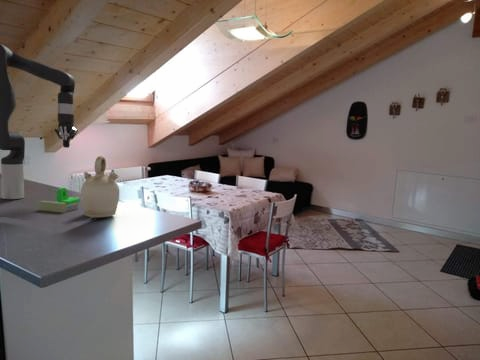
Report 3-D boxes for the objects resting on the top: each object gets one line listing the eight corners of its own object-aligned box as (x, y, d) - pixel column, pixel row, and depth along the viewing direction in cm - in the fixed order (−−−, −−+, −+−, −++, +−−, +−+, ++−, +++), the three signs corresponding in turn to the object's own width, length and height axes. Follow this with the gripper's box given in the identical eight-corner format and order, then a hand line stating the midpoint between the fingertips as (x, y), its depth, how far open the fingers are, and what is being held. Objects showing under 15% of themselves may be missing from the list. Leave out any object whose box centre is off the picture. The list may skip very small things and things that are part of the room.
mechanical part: (68, 205, 166) (68, 189, 165) (57, 205, 166) (56, 188, 165) (82, 201, 178) (82, 186, 177) (71, 200, 178) (70, 185, 177)
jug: (126, 212, 154) (126, 156, 151) (104, 219, 139) (103, 157, 136) (97, 209, 158) (96, 154, 155) (72, 216, 143) (71, 155, 140)
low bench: (39, 210, 153) (38, 201, 152) (55, 206, 161) (55, 198, 161) (63, 212, 149) (63, 203, 149) (78, 209, 158) (78, 200, 157)
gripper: (49, 112, 174) (50, 147, 176) (71, 112, 171) (71, 148, 173) (60, 113, 181) (61, 146, 183) (81, 114, 178) (82, 148, 180)
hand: (66, 147), depth 178 cm, fingers closed
